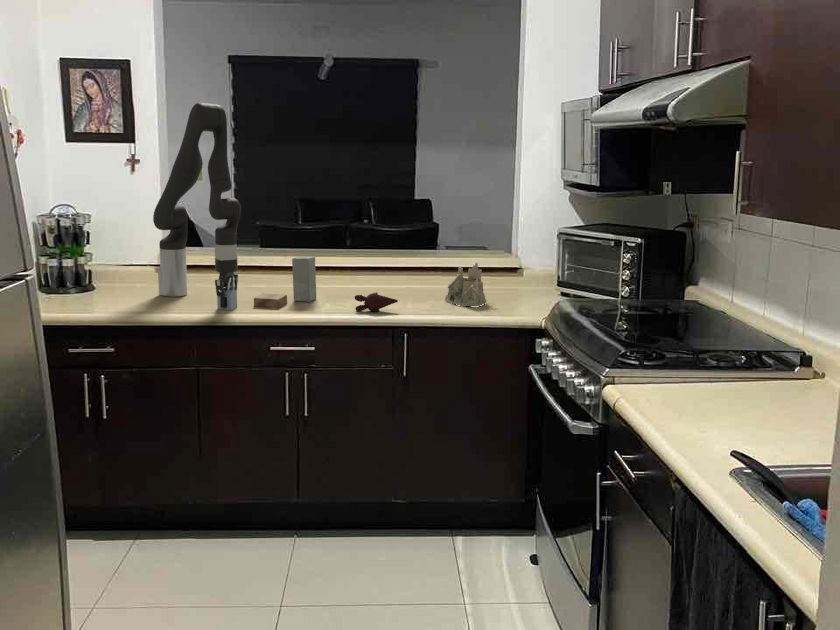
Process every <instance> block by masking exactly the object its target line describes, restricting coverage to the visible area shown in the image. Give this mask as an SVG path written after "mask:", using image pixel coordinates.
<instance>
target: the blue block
mask: <svg viewBox="0 0 840 630" xmlns="http://www.w3.org/2000/svg"><path fill="white" fill-rule="evenodd" d="M224 292H225V290H224ZM216 298H217V301H216V302H217V304H216V305H217V310H223V309H224V311H225V310H226V311H227V310H228V311H232V310H235V309H236V308H237V309H238V289H237V290H229V291H228V292H227V308H221V307H220V297H219V296H217V295H216Z"/></svg>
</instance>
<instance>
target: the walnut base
mask: <svg viewBox="0 0 840 630" xmlns="http://www.w3.org/2000/svg"><path fill="white" fill-rule="evenodd" d="M287 304H288V294H283V293H282V294H278V293H277V294H276V293H264V292H263V293H261V294H259V295H257V296H256V297H255V296H254V297H253V308H268V309H280V308H281V307H283V306H285V305H287Z"/></svg>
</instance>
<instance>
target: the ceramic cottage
mask: <svg viewBox="0 0 840 630" xmlns="http://www.w3.org/2000/svg"><path fill="white" fill-rule="evenodd" d="M474 264H475V265H474ZM474 264H473V265H472V267H471V268H468V272H467V275H468V276H467V277H464V276H463V271H464V270H463V267H462V266H459V267H458V268H457V269H458V270H457V275H456V276H455V278H454V279H453V280H452V281H451V282H450V283H449V284H448V286H447V289H448V292H447V294H446V295H445V298H444V302H445V301H446V302H445V303H448V304H451V303H453V304H452V305H454V304H457V305H460V306H459V307H461V306H480V305H482V304H485V303H486V304H487V298H486V295H485V293H484V283H483V281H482V269H479V263H478V262H475V263H474ZM457 305H456V306H457Z"/></svg>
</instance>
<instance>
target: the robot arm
mask: <svg viewBox="0 0 840 630" xmlns="http://www.w3.org/2000/svg"><path fill="white" fill-rule="evenodd" d="M227 120H228V119H227V114H226V111H225V109H224V107H223V106H222V105H220V104H216V103H207V102H197V103H194V105H193V106H192V108H191V109H190V111H189V115H188V119H187V123H186V127H185V131H184V135H183V138H182V142H181V144H180V148H179V150H178V153H177V155H176V158H175V161H174V163H173V166H172V169H171V172H170V175H169V177H168V181H167V183H166V185H165V188H164V189H163V192H162V193H161V196H160V197H159V200H158V202H157V204H156V206H155V208H154V211H153V216H152V217H153V218H152V220H153V224H154V226H155V228H156V229H158V230H160V231H170V232H169V233H168V235H166V236H165V237H164V238H162V239H161V240H159V245H158V246H159V266H160V268H158V270H157V279H158V295H159V296H162V297H170V298H171V297H183V296H184V297H185V296H186V295H188V277H187V275H188V274H187V250H186V249H187V248H186V247H187V245H186V244H187V242H188V223H189V222H188V221H189V220H188V212H187V209H186V207H185V206H184V205H183V204H180V203H179V201H180V200H181V198H183V196H184V195H186V194H187V193H188V192H189V191H190V190H191V189H192V188H193V187H194V185H195V184H196V183H197V181H198V179H199V177H200V174H201V171H202V169H203V157H202V154H201V150H200V147H199V143H200V139H201V136H202V135H203V132H211V133H212V135H213V140H214V141H213V143H214V145H213V149H212V152H211V154H210V157H209V160H208V164H207V175H208V179H209V180H208V181H209V185H210V194H209V204H208V212H209V214H210V216H211V218H213V220H216V221H220V220H222V221H223V220H226V221H225V223H224V224H223V225H220V226H217V227H216V228H215V230H214V237H215V238H214V239H215V240H214V241H215V243H214V244H215V245H214V246H215V248H214V268H215V269H214V270H215V272H218V273H219V277H218V279H215V280H214V285H215V290H216V291H215V293H216V297H217V296H219V297H220V307H221V308H227V292H228V291H229V290H237V291H238V281H239V275H238V273H236V272H237V271H238V270H239V267H238V266H239V265H238V263H239V262H238V247H237V231H238V226H239V222H240V219H241V214H242V206H241V203H240V202H239V200H238V199H236V198H234V197H233V198H232V197H230V198H229V197H228V198H227V197H226V198H222V194H223V193H227V192H230V191H231V190H232V187H233V185H232V178H231V173H230V167H229V162H228V161H229V159H228V158H229V157H228V122H227ZM224 290H225V292H224Z"/></svg>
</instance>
